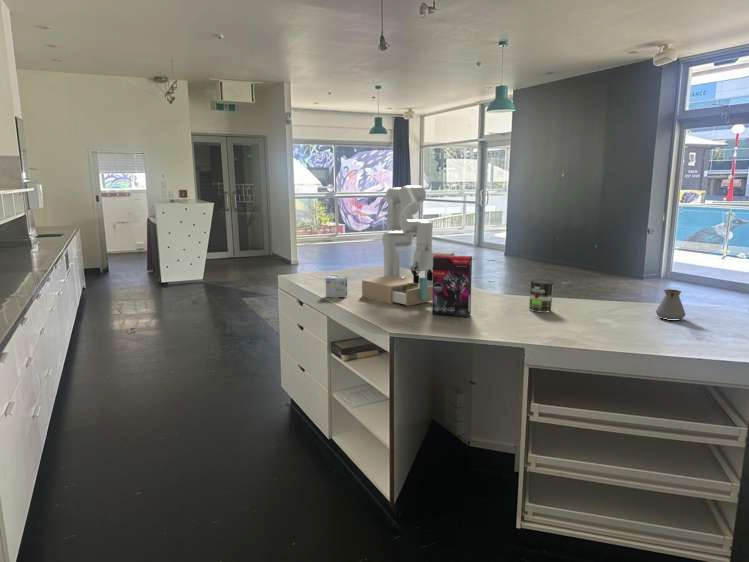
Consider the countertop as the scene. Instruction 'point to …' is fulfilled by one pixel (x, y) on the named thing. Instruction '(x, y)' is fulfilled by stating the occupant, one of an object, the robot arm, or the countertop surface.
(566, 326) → the countertop surface
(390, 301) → the sleeve
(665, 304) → the coffee pot
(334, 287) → the light bulb box
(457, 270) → the graphics card box
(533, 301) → the coffee can
